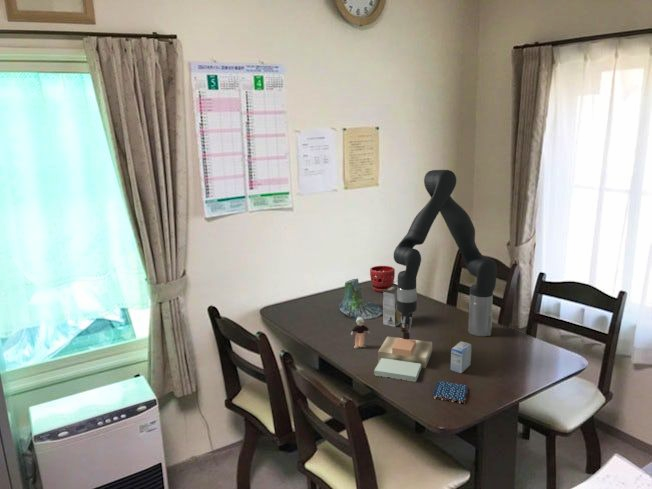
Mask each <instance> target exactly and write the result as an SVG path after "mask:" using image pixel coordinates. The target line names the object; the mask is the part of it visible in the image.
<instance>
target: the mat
mask: <svg viewBox="0 0 652 489" xmlns="http://www.w3.org/2000/svg"><path fill="white" fill-rule="evenodd" d="M421 370H422V367H421V364H420V363H413V362H406V361H399V360H392V359H385V358H381V359H380V361H378V363H377V365H376V366H375V368H374V370H373V375H375V377H376V376H377V377H381V376H382V377H383V378H387V377H390V378H389V379H394V378H395V379H394V380H400V379H402V381H406V380H407V381H408V382H412V383H413V382H414V383H416V382H417V380H418V378H419V375H420V373H421Z"/></svg>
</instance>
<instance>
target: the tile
mask: <svg viewBox="0 0 652 489" xmlns="http://www.w3.org/2000/svg"><path fill="white" fill-rule="evenodd" d="M397 338H398V339H397V340H396V342H395V344H394V346H393V348H392V354H394V355H401V356H408V357H411V355H412V353H413V351H414V349H415V347H416V340H417V339H411V340H408V339H400V338H401V337H397Z"/></svg>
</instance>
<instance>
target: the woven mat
mask: <svg viewBox="0 0 652 489" xmlns="http://www.w3.org/2000/svg"><path fill="white" fill-rule="evenodd" d="M436 383H437V384H436V386H434V387H435V388H434V391H433V393H432V398H433V399H434V400H436V398H437V399H438V398H439V399H440V400H441V401H445V400H447V401H448V400H449V401H450V402H451V403H455V401H457V403H458V404H461V403H463V402H464V404H465V403H466V401H467V398H468V393H469V392H468V391H469V387H468V385H466V384H459V383H455V382H454V383H452V382H446V381H441V380H440V381H437V382H436Z"/></svg>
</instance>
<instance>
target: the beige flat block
mask: <svg viewBox="0 0 652 489" xmlns="http://www.w3.org/2000/svg"><path fill="white" fill-rule="evenodd" d="M398 338H400V339H403V337H402V338H401V337H396V336H386V338H385V340H384V341H383V343H382V344H381V346H380V348H379V349H378V351H377V354H378V355H377V362H379V361H380V359H381V358H385V359H392V360H399V361H406V362H413V363H420V364H421V369H422V368H424V369H426V368H427V365H428V363H429V360H430V358H431V356H432V352H433V342H432V341H426V340H425V341H424V340H419V339H415V340H416V347H415V349H414V351H413V353H412V355H411V357H408V356H401V355H394V354H392V348H393V346H394V344H395V342H396V340H397V339H398ZM409 340H412V339H409Z"/></svg>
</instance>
